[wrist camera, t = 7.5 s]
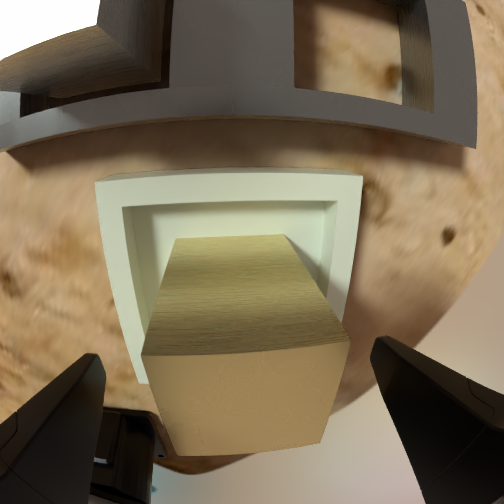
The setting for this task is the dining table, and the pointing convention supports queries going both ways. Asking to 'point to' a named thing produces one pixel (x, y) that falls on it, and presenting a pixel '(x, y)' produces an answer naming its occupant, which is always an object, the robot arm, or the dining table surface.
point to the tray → (222, 227)
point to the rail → (275, 78)
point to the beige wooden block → (242, 347)
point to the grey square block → (79, 45)
